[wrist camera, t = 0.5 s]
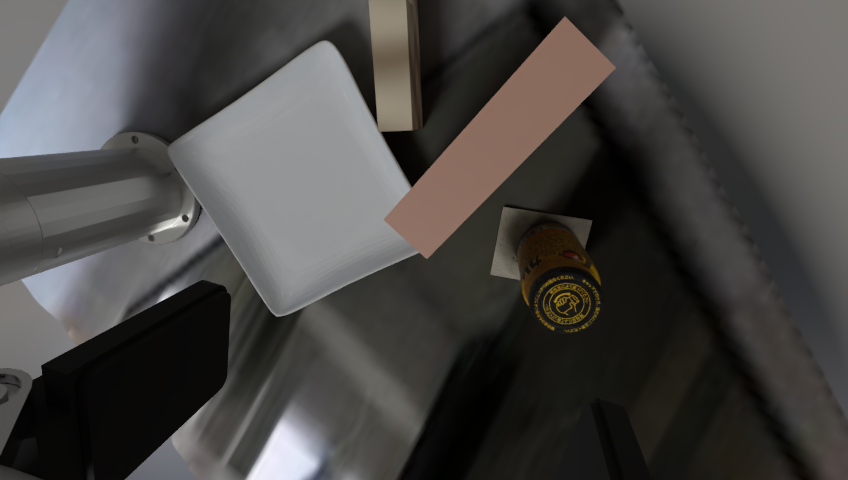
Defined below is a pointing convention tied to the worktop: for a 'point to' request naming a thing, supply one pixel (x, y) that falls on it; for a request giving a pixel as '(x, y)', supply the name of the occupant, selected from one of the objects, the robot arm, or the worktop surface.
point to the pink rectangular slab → (500, 137)
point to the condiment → (550, 267)
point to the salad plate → (298, 181)
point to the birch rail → (396, 64)
